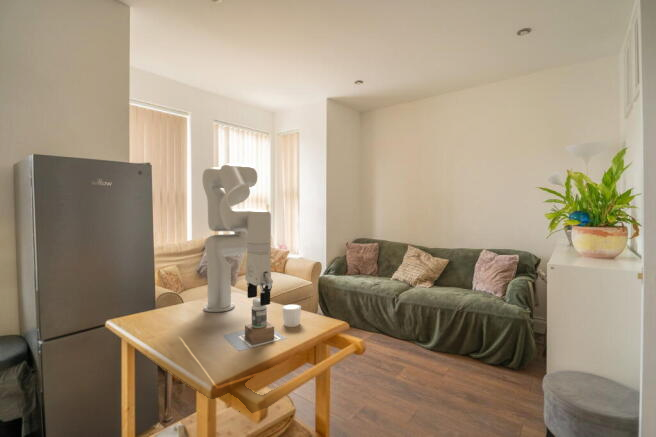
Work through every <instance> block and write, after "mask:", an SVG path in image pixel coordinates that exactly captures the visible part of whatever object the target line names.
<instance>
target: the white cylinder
mask: <svg viewBox="0 0 656 437" xmlns="http://www.w3.org/2000/svg"><path fill="white" fill-rule="evenodd" d="M281 308H282V318H283V321H282V322H283V326H285V327H288V328H291V327H293V328H294V327H298V326H300V325H301V323H300V322H301V312H302V311H301V310H302V306H301V305H300V304H297V303H296V304H295V303H290V304H285V305H283V306H282V307H281Z"/></svg>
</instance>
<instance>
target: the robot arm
mask: <svg viewBox="0 0 656 437" xmlns="http://www.w3.org/2000/svg"><path fill="white" fill-rule="evenodd" d="M257 182H258V173H257V170H256V169H255V168H254V166H252V165H249V164H248V165H247V164H239V163H226V164H223V165H222V166H220V167H217V166H215V167H208V168H205V169H204V170H203V173H202V186H203V190H204V192H205V195H206V200H207V224H208V229H209V230H210V231H213V232H232V233H233V234H232V233H228V234H213V235H210V236H208V237H207V238H206V239H205V241H204V249H205V255H206V265H207V266H206V268H207V270H206V272H207V303H206V304H205V305H204V306H203V311H205V312H209V313H222V312H227V311H230V310H233V309H234V308H235V303H234V302H232V277H231V276H232V274H231V273H232V269H231V268H232V267H231V265H230V263H229V262H228V261H227V259H226V257H235V256H237V257H238V256H242V255H245V254H246V259H245V274H244V275H245V276H244V277H245V278H244V279H245V281H246V282H247V283H246V285H247V293H246V294H247V298H248V299H253V298H256V297H258V286H259V288H260V293H259V295H260V296H259V298H260V305H261V306H264V305H266V306H267V305H270V304H271V292H272V289H273V282H274V280H273V279H272V266H271V264H272V263H271V252H272V249H271V248H272V246H271V245H272V241H271V240H272V234H271V233H272V214H271V212H270V211H269V210H264V209H263V210H262V209H258V208H252V209H251V208H232V207H233V206H236V205H238V204H241V203H243V202H245V201H246V200H247V199H248V198H249V196H250V194H251V189H250V188H252V187H254V186H255V185H256V184H257Z"/></svg>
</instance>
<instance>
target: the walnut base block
mask: <svg viewBox="0 0 656 437" xmlns="http://www.w3.org/2000/svg"><path fill="white" fill-rule="evenodd" d="M244 330H245V338H246V339H248V340H249V341H250V342H252V343H253V344H257V343H261V342H264V341H268V340H272V339H274V330H275V326H274V325H272V324H271V323H270V322H267V325H266V326H265V327H262V328H254V327H252V323H249V324H248V323H247V324H245V325H244Z"/></svg>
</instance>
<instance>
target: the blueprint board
mask: <svg viewBox="0 0 656 437" xmlns="http://www.w3.org/2000/svg"><path fill="white" fill-rule="evenodd" d="M221 336H222V337H223V338H224V339H225V340H226V341H227V342H228V343H229V344H230V345H231V346H233V348H235V350H236V351H238V352H242V351H247V350H249V349H253V348H256V347H257V348H258V347H260V346H265V345H267V344H272V343H276V342H279V341H282V340H285V339H287V337H286V336H285V335H283V334H281V333H280V332H278V331H276V330H275V329H274V339H272V340H268V341H264V342H261V343H257V344H253V343H252V342H250V341H249V340H248V339H246V338H245V329H243V330H240V331H236V332H231V333H226V334H222V335H221Z"/></svg>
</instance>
